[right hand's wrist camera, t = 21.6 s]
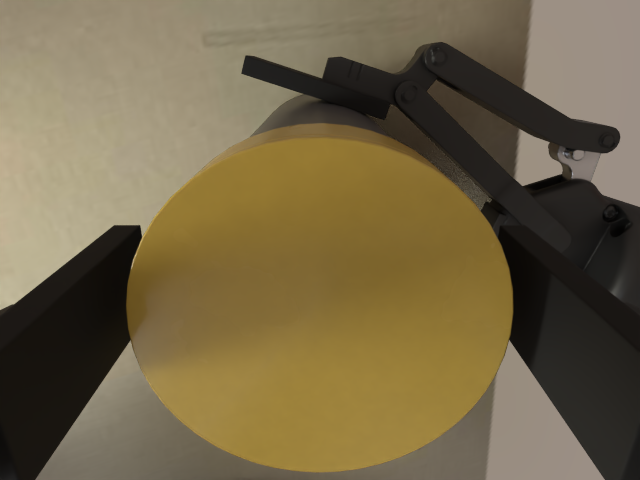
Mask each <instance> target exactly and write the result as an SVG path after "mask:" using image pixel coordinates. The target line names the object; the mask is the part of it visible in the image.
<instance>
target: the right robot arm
mask: <svg viewBox="0 0 640 480" xmlns="http://www.w3.org/2000/svg"><path fill="white" fill-rule="evenodd" d="M141 239H142V234H141V228H140V225H114V226H113V227H112V228H110V229H109V230H108V231H106V232H105V233H104V234H103V235H101V236H100V237H99V238H98V239H96V240H95V241H94V242H93V243H91V244H90V245H89V246H87V247H86V248H85V249H84V250H82V251H81V252H80V253H79V254H77V255H76V256H75V257H74V258H72V259H71V260H70V261H69V262H67V263H66V264H65V265H63V266H62V267H61V268H60V269H58V270H57V271H56V272H55V273H53V274H52V275H51V276H50V277H48V278H47V279H46V280H44V281H43V282H42V283H41V284H39V285H38V286H37V287H36V288H34V289H33V290H32V291H31V292H29V293H28V294H27V295H26V296H24V297H23V298H22V299H20V300H19V301H18V302H17V303H15V304H14V305H10V306H8V307H6V308H4V309H2V310H0V480H35V479H36V478H37V476H38V475H39V473H40V472H41V470H42V469H43V467H44V466H45V464H46V463H47V461H48V460H49V459H50V457H51V456H52V454H53V453H54V451H55V450H56V448H57V447H58V445H59V444H60V442H61V441H62V440H63V438H64V437H65V435H66V434H67V432H68V431H69V429H70V428H71V426H72V425H73V423H74V422H75V421H76V419H77V418H78V416H79V415H80V413H81V412H82V410H83V409H84V407H85V406H86V404H87V403H88V401H89V400H90V399H91V397H92V396H93V394H94V393H95V391H96V390H97V388H98V387H99V385H100V384H101V382H102V381H103V380H104V378H105V377H106V375H107V374H108V372H109V371H110V369H111V368H112V366H113V365H114V363H115V362H116V361H117V359H118V358H119V356H120V355H121V353H122V352H123V350H124V349H125V347H126V346H127V344H128V343H129V341H130V340H131V339H130V334H129V330H128V322H127V310H126V300H127V286H128V279H129V275H130V271H131V266H132V262H133V259H134V256H135V254H136V251H137V249H138V246H139V244H140V241H141ZM498 240H499V242H500V244H501V246H502V249H503V252H504V255H505V257H506V260H507V263H508V266H509V271H510V276H511V282H512V287H513V320H512V327H511V335H510V338H509V340H510V341H511V343H512V344H513V346H514V347H515V349H516V350H517V352H518V353H519V355H520V356H521V358H522V359H523V361H524V362H525V363H526V365H527V366H528V368H529V369H530V371H531V372H532V374H533V375H534V377H535V378H536V380H537V381H538V382H539V384H540V385H541V387H542V388H543V390H544V391H545V393H546V394H547V396H548V397H549V399H550V400H551V401H552V403H553V404H554V406H555V407H556V409H557V410H558V412H559V413H560V415H561V416H562V418H563V419H564V420H565V422H566V423H567V425H568V426H569V428H570V429H571V431H572V432H573V434H574V435H575V437H576V438H577V440H578V441H579V442H580V444H581V445H582V447H583V448H584V450H585V451H586V453H587V454H588V456H589V457H590V459H591V460H592V461H593V463H594V464H595V466H596V467H597V469H598V470H599V472H600V473H601V475H602V476H603V478H604V479H605V480H640V308H638V307H636V306H634V305H632V304H629V303H623V302H622V301H621V300H620V299H618V298H617V297H616V296H614V295H613V294H612V293H611V292H609V291H608V290H607V289H606V288H604V287H603V286H602V285H601V284H599V283H598V282H597V281H596V280H594V279H593V278H592V277H590V276H589V275H588V274H587V273H585V272H584V271H583V270H582V269H580V268H579V267H578V266H577V265H575V264H574V263H573V262H571V261H570V260H569V259H568V258H566V257H565V256H564V255H563V254H561V253H560V252H559V251H558V250H556V249H555V248H554V247H553V246H551V245H550V244H549V243H547V242H546V241H545V240H544V239H542V238H541V237H540V236H539V235H537V234H536V233H535V232H534V231H532V230H531V229H530V228H528V227H527V226H526V225H500V228H499V234H498Z"/></svg>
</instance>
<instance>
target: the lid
mask: <svg viewBox="0 0 640 480" xmlns="http://www.w3.org/2000/svg"><path fill="white" fill-rule="evenodd" d="M126 310H127V322H128V330H129V334H130V339H131V343H132V347H133V350H134V353H135V355H136V358H137V360H138V363H139V365H140V368H141V370H142V372H143V374H144V375H145V377H146V379H147V381H148V382H149V384H150V386H151V388H152V389H153V390H154V392H155V393H156V394H157V396H158V397H159V398H160V400H161V401H162V402H163V404H164V405H165V406H166V407H167V408H168V409H169V410H170V411H171V412H172V413H173V414H174V415H175V416H176V417H177V418H178V419H179V420H180V421H181V422H182V423H183V424H185V425H186V426H187V427H188V428H190V429H191V430H192V431H193V432H194V433H196V434H197V435H199V436H200V437H202V438H204V439H205V440H207V441H208V442H210V443H211V444H213V445H215V446H217V447H219V448H221V449H223V450H225V451H227V452H229V453H231V454H233V455H235V456H238V457H241V458H243V459H246V460H249V461H251V462H254V463H258V464H262V465H266V466H270V467H273V468H279V469H286V470H292V471H302V472H339V471H347V470H355V469H361V468H365V467H370V466H374V465H378V464H382V463H385V462H388V461H391V460H394V459H397V458H400V457H402V456H404V455H406V454H409V453H411V452H413V451H415V450H417V449H420V448H421V447H423V446H425V445H426V444H428V443H430V442H431V441H433V440H435V439H437V438H438V437H440V436H441V435H442V434H444V433H445V432H446V431H448V430H449V429H450V428H452V427H453V426H454V425H455V424H457V423H458V422H459V421H460V420H461V419H462V418H463V417H464V416H465V415H466V414H467V413H468V412H469V411H470V410H471V409H472V408H473V407H474V405H475V404H476V403H477V402H478V401H479V399H480V398H481V397H482V396H483V394H484V393H485V392H486V390H487V388H488V387H489V385H490V384H491V382H492V380H493V379H494V377H495V376H496V374H497V371H498V369H499V367H500V365H501V362H502V360H503V358H504V356H505V352H506V349H507V345H508V342H509V338H510V335H511V327H512V320H513V287H512V282H511V276H510V271H509V266H508V263H507V260H506V257H505V255H504V252H503V249H502V246H501V244H500V242H499V240H498V238H497V236H496V234H495V232H494V231H493V229H492V227H491V225H490V223H489V222H488V221H487V219H486V218H485V216H484V215H483V214H482V212H481V211H480V210H479V208H478V207H477V206H476V204H475V203H474V202H473V201H472V200H471V199H470V198H469V197H468V196H467V195H466V194H465V193H464V192H463V191H462V190H461V189H460V188H459V187H458V186H457V185H456V184H455V183H453V182H452V181H451V180H450V179H449V178H448V177H447V176H446V175H444V174H443V173H442V172H441V171H440V170H439V169H438V168H437V167H436V166H434V165H433V164H432V163H431V162H429V161H428V160H427V159H425V158H424V157H423V156H421V155H420V154H419V153H417V152H416V151H415V150H413V149H411V148H409V147H407V146H406V145H404V144H402V143H400V142H398V141H396V140H395V139H392V138H390V137H387V136H384V135H382V134H379V133H376V132H374V131H371V130H366V129H362V128H358V127H353V126H349V125H339V124H328V123H316V124H298V125H293V126H287V127H282V128H276V129H273V130H270V131H267V132H264V133H261V134H258V135H255V136H252V137H250V138H248V139H246V140H244V141H242V142H240V143H238V144H236V145H234V146H232V147H230V148H229V149H227V150H226V151H224V152H223V153H221V154H220V155H218V156H217V157H215V158H214V159H213V160H211V161H210V162H209V163H208V164H207V165H206V166H205V167H204V168H203V169H201V170H200V171H199V172H198V173H197V174H196V175H195V176H194V177H193V178H191V179H190V180H189V181H188V182H187V183H186V184H185V185H184V186H183V187H182V188H180V189H179V190H178V191H177V192H176V193H175V194H174V195H173V196H172V197H170V199H169V200H168V201H167V202H166V204H165V205H164V206H163V207H162V208H161V210H160V211H159V212H158V213H157V215H156V216H155V217H154V218H153V220H152V222H151V224H150V225H149V227H148V229H147V230H146V232H145V234H144V235H143V237H142V239H141V241H140V244H139V246H138V249H137V251H136V254H135V256H134V259H133V262H132V266H131V271H130V275H129V279H128V286H127V300H126Z"/></svg>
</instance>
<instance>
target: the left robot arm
mask: <svg viewBox="0 0 640 480" xmlns="http://www.w3.org/2000/svg"><path fill="white" fill-rule="evenodd" d="M241 74H244V75H247V76H250V77H253V78H256V79H260V80H263V81H266V82H269V83H272V84H275V85H278V86H281V87H284V88H287V89H290V90H293V91H296V92H300V93H303V94H306V95H309V96H312V97H315V98H318V99H321V100H324V101H327V102H330V103H333V104H336V105H340V106H343V107H346V108H349V109H352V110H355V111H358V112H361V113H364V114H367V115H370V116H373V117H376V118H380V119H383V120H385V118H386V115H387V112H388V109H389V106H390V104H393V105H395V106H396V107H397V108H398V109H399V110H400V111H401V112H403V113H404V114H405V115H406V116H407V117H408V118H409V119H410V120H411V121H412V122H413V123H414V124H415V125H416V126H417V127H418V128H419V129H420V130H421V131H422V132H423V133H424V134H425V135H426V136H427V137H428V138H429V139H430V140H431V141H432V142H433V143H435V144H436V145H437V146H438V147H439V148H440V149H441V150H442V151H443V152H444V153H445V154H446V155H447V156H448V157H449V158H450V159H451V160H452V161H453V162H454V163H455V164H456V165H457V166H458V167H459V168H460V169H461V170H462V171H463V172H464V173H465V174H467V175H468V176H469V177H470V178H471V179H472V180H473V181H474V182H475V184H476V185H477V186H478V187H479V188H480V189H481V190H482V191H483V192H485V193H486V194H487V195H488V196H489V197H490V198H491V199H492V201H491V202H490V203H489V202H485V204H484V206H483V208H482V210H481V212H482V214H483V215H484V216H485V218H486V219H487V221H488V222H489V223H490V225H491V227H492V229H493V231H494V232H495V234H496V236H497V238H498V234H499V228H500V225H526V226H527V227H528V228H530V229H531V230H532V231H534V232H535V233H536V234H537V235H539V236H540V237H541V238H542V239H544V240H545V241H546V242H547V243H549V244H550V245H551V246H553V247H554V248H555V249H556V250H558V251H559V252H560V253H561V254H563V255H564V256H565V257H566V258H568V259H569V260H570V261H571V262H573V263H574V264H575V265H577V266H578V267H579V268H580V269H582V270H583V271H584V272H585V273H587V274H588V275H589V276H590V277H592V278H593V279H594V280H596V281H597V282H598V283H599V284H601V285H602V286H603V287H604V288H606V289H607V290H608V291H609V292H611V293H612V294H613V295H614V296H616V297H617V298H618V299H620V300H621V301H622V302H623V303H629V304H632V305H634V306H636V307H638V308H640V207H638V206H635V205H631V204H628V203H625V202H622V201H619V200H616V199H613V198H610V197H607V196H604V195H602V194H601V193H600V192H599V191H598V189H597V188H596V186H595V185H594V184H593V183H591V179H592V176H593V174H594V171H595V168H596V165H597V163H598V160H599V157H600V155H601V153H608V152H610V151H612V150H614V149H615V148H616V147H617V145H618V143H619V141H620V134H619V131H618V130H617V129H616V128H614V127H610V126H606V125H601V124H597V123H592V122H588V121H583V120H576V119H570V118H569V117H567V116H565V115H564V114H562V113H560V112H559V111H557V110H556V109H554V108H552V107H551V106H549V105H547V104H546V103H544V102H542V101H541V100H539V99H537V98H536V97H534V96H532V95H531V94H529V93H527V92H526V91H524V90H522V89H521V88H519V87H517V86H516V85H514V84H512V83H511V82H509V81H508V80H506V79H504V78H503V77H501V76H499V75H498V74H496V73H494V72H493V71H491V70H489V69H488V68H486V67H484V66H483V65H481V64H479V63H478V62H476V61H474V60H473V59H471V58H469V57H468V56H466V55H465V54H463V53H461V52H460V51H458V50H456V49H455V48H453V47H451V46H450V45H448V44H446V43H443V42H438V43H431V44H426V45H423V46H421V47H419V48H418V49H417V51H416V52H415V55H414V57H413V58H412V59H411V61H410V62H409V63H408V64H407V66H406V67H405V68H404V69H403V70H402V71H400V72H398V73H395V74H391V73H388V72H385V71H382V70H379V69H376V68H373V67H370V66H367V65H364V64H361V63H358V62H355V61H352V60H349V59H346V58H343V57H333V58H328V60H327V64H326V67H325V71H324V74H323V77H322V78H319V77H316V76H312V75H309V74H306V73H303V72H300V71H297V70H294V69H291V68H288V67H285V66H282V65H279V64H276V63H273V62H270V61H267V60H264V59H261V58H258V57H255V56H245V60H244V65H243V69H242V73H241ZM435 80H437V81H439V82H441V83H443V84H444V85H446V86H448V87H449V88H451V89H453V90H455V91H456V92H458V93H460V94H461V95H463V96H465V97H466V98H468V99H470V100H472V101H473V102H475V103H477V104H478V105H480V106H482V107H484V108H485V109H487V110H489V111H490V112H492V113H494V114H496V115H497V116H499V117H501V118H502V119H504V120H506V121H507V122H509V123H511V124H513V125H514V126H516V127H518V128H519V129H521V130H523V131H525V132H526V133H528V134H530V135H532V136H534V137H537V138H540V139H543V140H545V141H548V142H550V143H549V145H548V148H549V154H550V156H551V157H552V158H553V159H554V160H557V161H559V162H560V163H561V165H562V167H563V172H562V174H561V175H557V176H554V177H551V178H547V179H544V180H541V181H538V182H535V183H531V184H528V185H525V186H521V185H520V184H519V183H518V182H517V181H516V180H515V179H513V178H512V177H511V176H510V175H509V174H508V173H507V172H506V171H505V170H504V169H503V168H502V167H501V166H500V165H499V164H498V163H497V162H496V161H495V160H494V159H493V158H492V157H491V156H490V155H489V154H488V153H487V152H486V151H485V150H484V149H483V148H482V147H481V146H480V145H479V144H478V143H477V142H476V141H475V140H474V139H473V138H472V137H471V136H470V135H469V134H468V133H467V132H466V131H465V130H464V129H463V128H462V127H461V126H460V125H459V124H458V123H457V122H456V121H455V120H454V119H453V118H452V117H451V116H450V115H449V114H448V113H447V112H446V111H445V110H444V109H443V108H442V107H441V106H440V105H439V104H438V103H437V102H436V101H435V100H434V99H433V98H432V97H431V96H430V95H429V94H428V93H427V92H426V91H427V90H428V89H429V87H430V86H431V85H432V84H433V82H434V81H435Z"/></svg>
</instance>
